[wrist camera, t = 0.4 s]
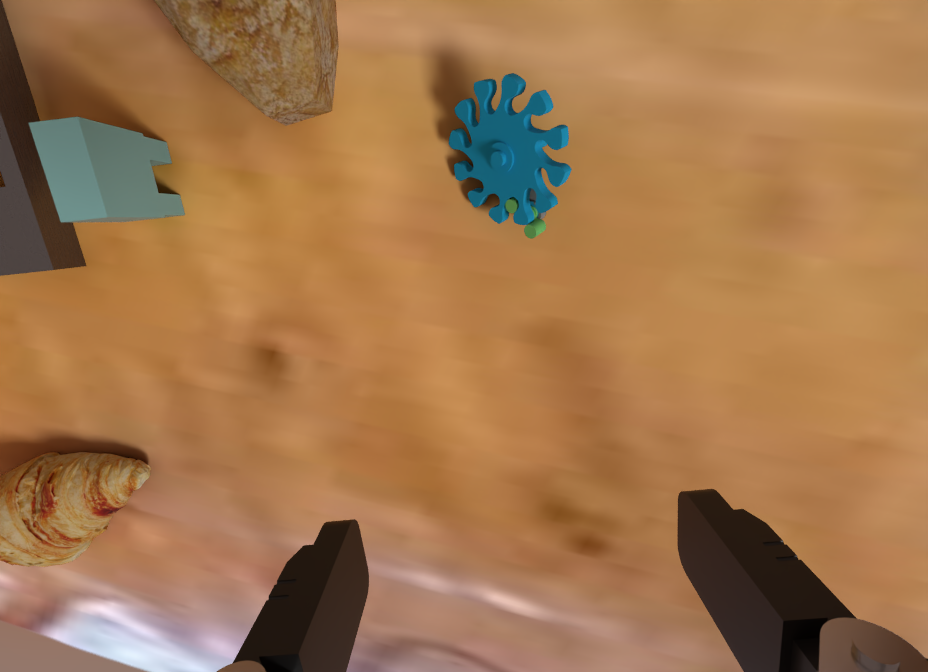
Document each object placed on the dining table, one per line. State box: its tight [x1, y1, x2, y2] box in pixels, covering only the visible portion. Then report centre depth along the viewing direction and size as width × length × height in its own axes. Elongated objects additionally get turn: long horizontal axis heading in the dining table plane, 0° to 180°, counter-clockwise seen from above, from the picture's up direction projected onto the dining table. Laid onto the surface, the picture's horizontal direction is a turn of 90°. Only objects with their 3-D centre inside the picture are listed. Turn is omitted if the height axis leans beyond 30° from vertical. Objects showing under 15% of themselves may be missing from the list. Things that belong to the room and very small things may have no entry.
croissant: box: [0, 452, 151, 567], centre depth 41 cm, size 21×10×8 cm, turn 114°
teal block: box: [29, 117, 185, 222], centre depth 32 cm, size 6×3×8 cm, turn 6°
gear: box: [449, 73, 571, 238], centre depth 32 cm, size 11×6×10 cm
